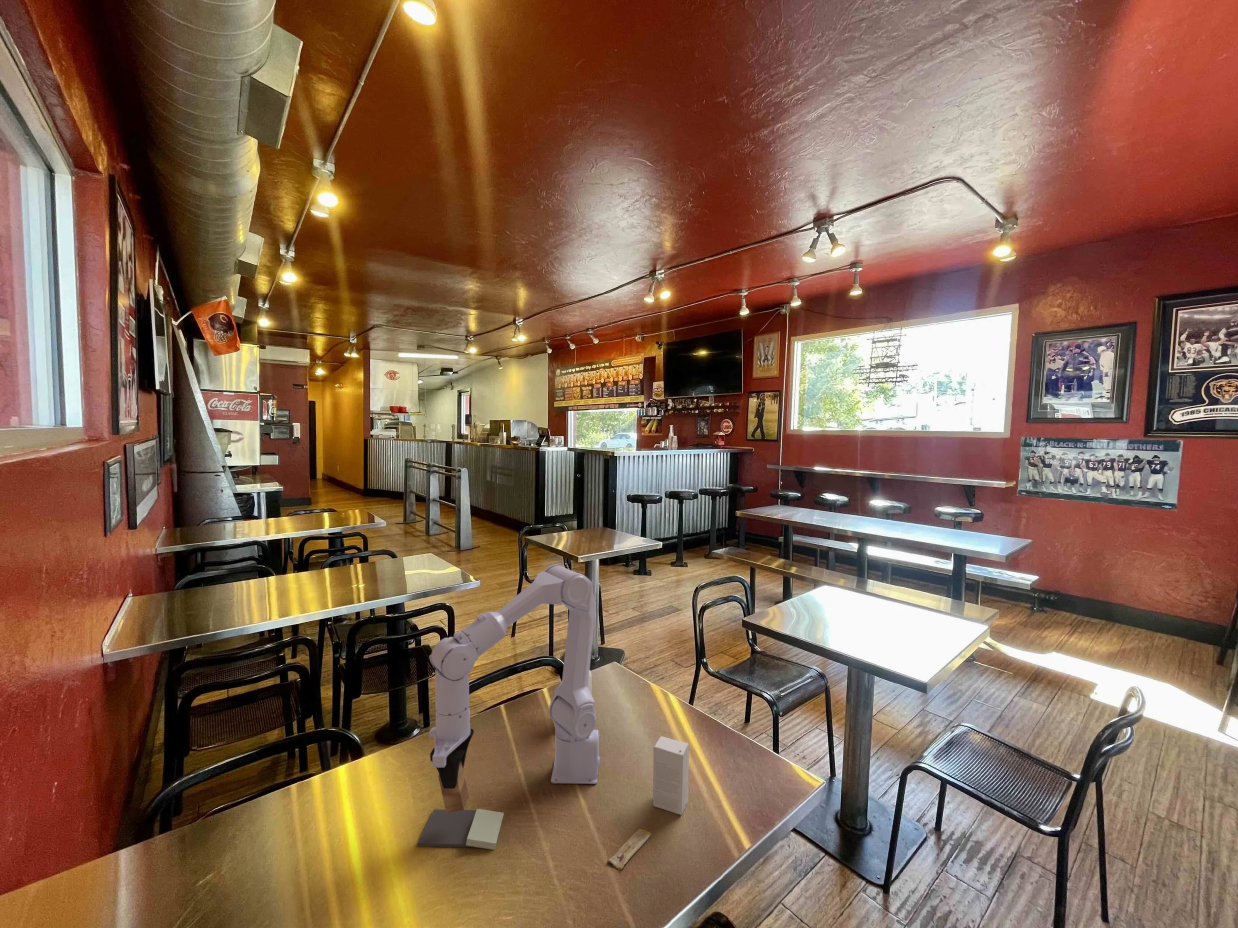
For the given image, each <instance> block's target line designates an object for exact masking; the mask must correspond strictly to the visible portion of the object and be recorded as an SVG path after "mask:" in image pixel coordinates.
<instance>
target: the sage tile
mask: <svg viewBox="0 0 1238 928" xmlns="http://www.w3.org/2000/svg"><path fill="white" fill-rule="evenodd" d="M475 810H476V813H475V816H474V819H473V822H472V825H471V828H470V831H469V834H468V837H467V842H466V845H468V846H474V847H473V848H480V849H486V850H493V851H495V849H496V846H497V842H498V838H499V835H500V831H501V826H502V823H503V819H504V814H505V812H500V811H494V810H488V809H481V808H476V809H475Z"/></svg>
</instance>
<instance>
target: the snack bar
mask: <svg viewBox="0 0 1238 928" xmlns="http://www.w3.org/2000/svg"><path fill="white" fill-rule="evenodd" d="M651 836H652V833H651V832H649V831H648V830H645V829H643V828H641V827H639V828H638V829H637V830H636V831H635V832H634V833H633V834H632V835H631V836H630V837H629V838H628V839H627V840H626V841H625V843H623V844H622V845H621V846H620V847H619V848H618V850H617V851H615V853H614V854H613V855H612V856H611V857H610V858H609V859H607V860H606V862H607V863H608V864H611V866H612V867H614V868H616V869H617V870H618V871H621V870H623V869H624V867H625V865H626V864H627V863H628V862H629V860H630V859H631V858H632V857H633V856H634V854H635V853H636V852H637V851H638V850H640V849H641V847H642V846H643V845H644V844H645V842H646V841H647V840H648V839H649V838H650V837H651Z"/></svg>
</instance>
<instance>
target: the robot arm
mask: <svg viewBox="0 0 1238 928" xmlns="http://www.w3.org/2000/svg"><path fill="white" fill-rule="evenodd" d="M593 586H594V583H593V582H592V581H591V580H590V579H589V578H588V577H587V576H586V575H584V574H582V573H579V572H576V571H574V570H571V569H570V568H569V569H568V568H566V567H564V566H562V565H560V564H556V563H555V564H550V565H549V566H548V567H546V568H545V569H544V570H542V571H541V572H538V574H537V575H536V577H535V579H534V580H533V582H531V583H530V584H529V585H528V586H527V587H526V588H524V589H523V590H522V591H520V593H518V594H517V595H516V596H514V598H512V599H511V600H510V601H508V602H507V603H506V604H505V605H504V606H503V607H501V608H499V610H498V611H486V612H485V613H482V612H481V613H479V614H478V615H476V619H475V620H474V621H472V622H471V623H470V624H468V625H467V626H465V627H464V628H462V629H461V630H460V631H457V632H454V634H453V636H449V637H444V638H441V640H439V641H438V642H437V643H436V644H435V645H434V648H433V649H432V651H431V654H429V661H430V664H431V665H432V666H433V667H434V668H435V670H434V671H435V678H434V679H435V681H434V682H435V683H434V684H435V685H434V690H435V691H434V694H435V695H434V696H435V698H434V699H435V701H434V702H435V706H434V707H435V726H433V727H432V728H431V729H430V730H429V732H428V737H429V738H434V747H433V748H432V750H431V752H429V753H430V754H429V760H430V761H431V762H432V768H436V771H437V773H438V775H440V779H441V782H442V786H443V788H447V789H454V788H455V787H456V784H457V779H458V772H459V766H460V762H462V766H463V769H465V768H464V767H465V763H466V757H467V752H468V749H469V745H470V742H471V739H472V738H473V735H474V733H475V732H474V730H475V729H474V728H471V722H470V719H471V713H470V712H471V708H470V679H469V676H470V673H471V672H472V671H473V668H474V665H475V663H476V662H477V661H478V660H479V658H480V657H481V656H482V655H483V654H485V653H486V652H488V651H489V650H490V649H491V648H492V647H495V645H497V644H498V643H499V642H500V641H502V640H503V639H504V638H505V637H506V635H507V630H508V627H510V626H511V625H513V624H514V623H515V622H517V621H519V620H520V619H522V618H523V617H524V616H526V615H528V614H530V612H532V611H534V610H535V609H536V608H538V607H540V606H541V605H543V604H544V605H557V606H558V605H563V606H565V607H566V609H568V611H569V612H568V623H567V631H566V643H565V648H564V649H565V651H564V661H563V671H562V679H561V681H562V684H561V685H559V684H558V686H557V687H555V688H554V693H553V697H552V700H550V701H551V702H550V704H549V707H548V715H549V717H550V718H551V720H552V721H554V724H553V725H554V762H553V768H552V773H551V778H550V782H551V784H570V785H571V784H572V785H573V784H578V785H579V784H583V785H584V784H587V785H588V784H589V785H596V784H597V783H598V776H599V775H598V774H599V768H600V765H601V756H600V755H599V750H600V749H599V747H600V746H599V745H600V742H599V740H600V737H599V735H600V731H599V729H595V728H596V725H597V713H596V711H595V704H596V703H595V699H594V697H593V695H591V693H590V691H589V689H588V679H589V670H590V667H591V657H592V650H593V649H592V648H593V639H594V630H595V620H596V619H595V618H596V611H597V601H596V598H595V595H594V592H593V588H594V587H593Z"/></svg>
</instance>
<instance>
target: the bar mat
mask: <svg viewBox="0 0 1238 928" xmlns="http://www.w3.org/2000/svg"><path fill="white" fill-rule="evenodd" d="M476 810H477V809H464V810H461V811H455V812H449V813H446V810H445V809H433V810H432V812H431V814H430V817H429V819H428V821H427V822H426V824H425V826H424V829H423V831H422V833H421V834H420V837H419V839H418V841H417V843H416V845H417V847H440V848H441V847H442V848H443V847H444V848H446V847H448V848H453V847H455V848H475V847H474V846H468V845H466V842H467V837H468V834H469V831H470V828H471V825H472V822H473V819H474V816H475V813H476Z"/></svg>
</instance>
